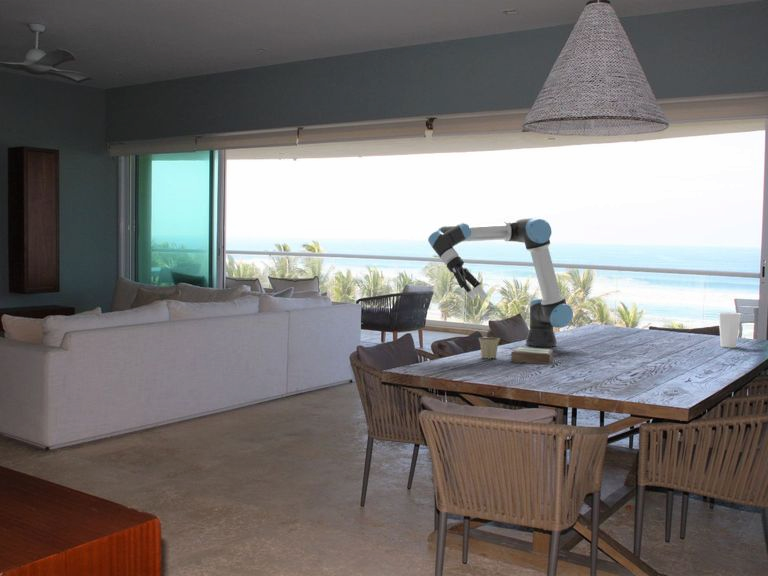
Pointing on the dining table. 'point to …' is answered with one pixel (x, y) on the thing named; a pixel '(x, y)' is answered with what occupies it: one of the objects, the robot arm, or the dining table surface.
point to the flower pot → (489, 347)
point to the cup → (729, 328)
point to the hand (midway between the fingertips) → (479, 297)
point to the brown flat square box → (532, 355)
